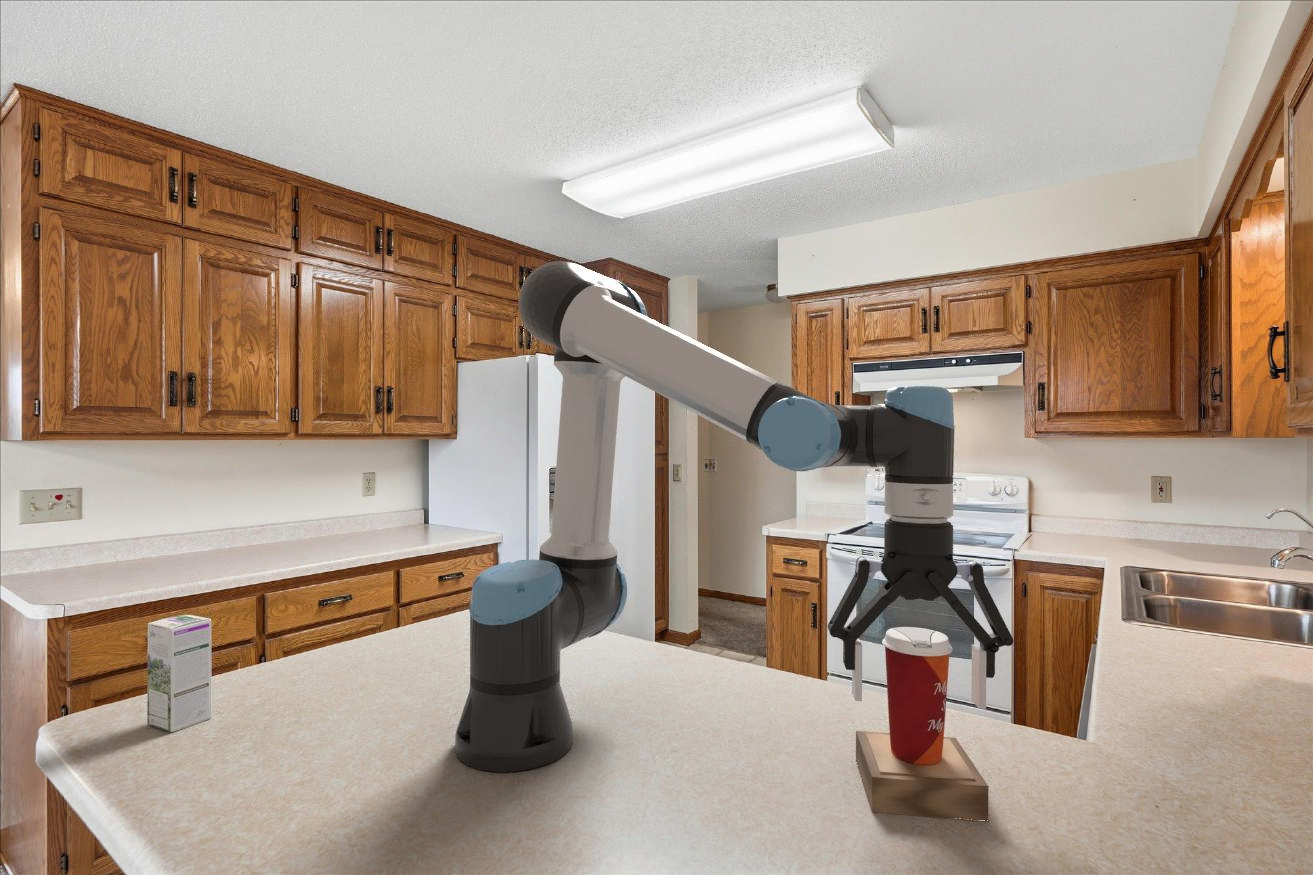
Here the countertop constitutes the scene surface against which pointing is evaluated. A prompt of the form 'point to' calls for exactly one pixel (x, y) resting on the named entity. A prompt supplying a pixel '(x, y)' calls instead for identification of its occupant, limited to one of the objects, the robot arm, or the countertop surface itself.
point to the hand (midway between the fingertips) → (916, 701)
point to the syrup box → (179, 672)
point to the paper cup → (917, 692)
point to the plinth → (920, 781)
